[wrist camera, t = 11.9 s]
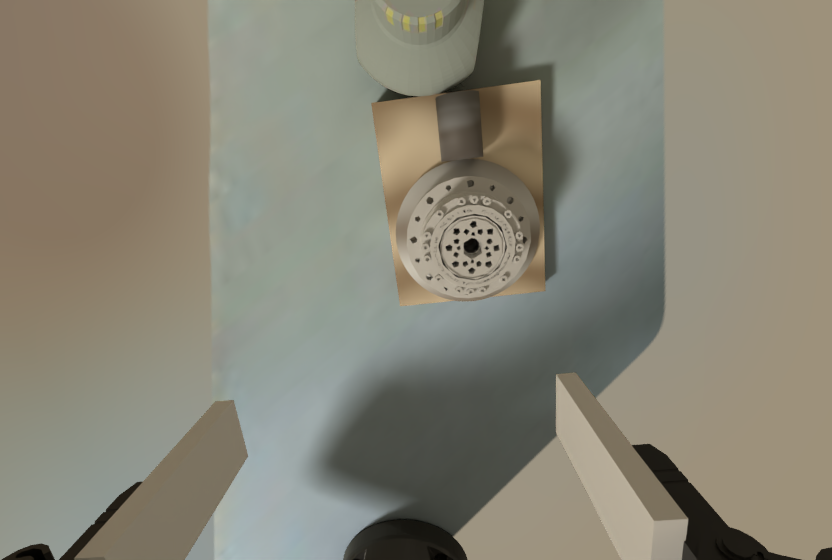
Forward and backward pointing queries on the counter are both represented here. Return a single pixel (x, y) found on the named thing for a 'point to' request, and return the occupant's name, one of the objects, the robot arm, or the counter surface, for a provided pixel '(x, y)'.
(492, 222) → the mechanical component
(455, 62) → the grey rounded piece
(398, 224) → the flange board
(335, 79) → the counter surface
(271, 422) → the counter surface
